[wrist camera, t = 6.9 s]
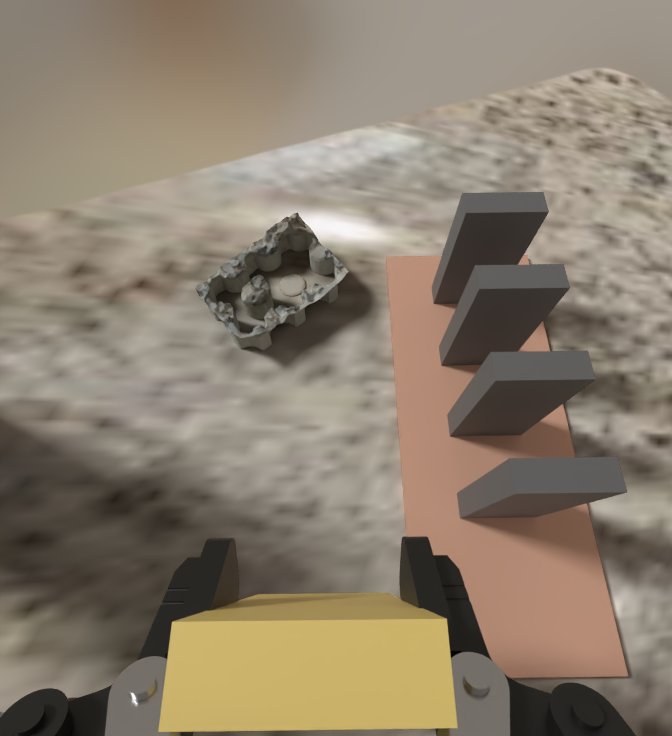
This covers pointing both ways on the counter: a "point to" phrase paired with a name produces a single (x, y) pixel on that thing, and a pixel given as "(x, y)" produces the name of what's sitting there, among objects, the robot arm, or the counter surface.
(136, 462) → the counter surface
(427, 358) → the terracotta mat
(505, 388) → the charcoal domino
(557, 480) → the charcoal domino
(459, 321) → the charcoal domino
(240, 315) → the counter surface
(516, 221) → the charcoal domino
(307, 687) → the ochre domino
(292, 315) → the egg carton
